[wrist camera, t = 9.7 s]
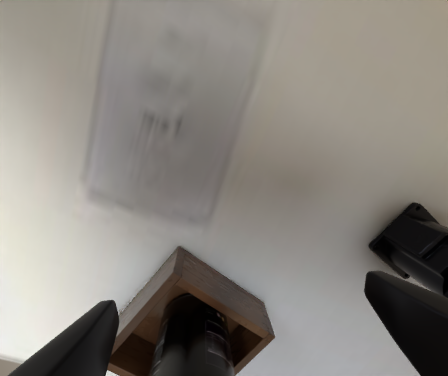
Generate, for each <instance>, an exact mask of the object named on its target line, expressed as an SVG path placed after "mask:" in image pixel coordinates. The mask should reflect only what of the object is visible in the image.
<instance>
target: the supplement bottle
mask: <svg viewBox="0 0 448 376" xmlns="http://www.w3.org/2000/svg"><path fill="white" fill-rule="evenodd" d="M149 376H235V374H234V366H233V359H232V351H231V344H230V336H229V329H228V322H227V316H226V315H224V314H223V313H221V312H220V311H218V310H216V309H215V308H213V307H211V306H210V305H208V304H207V303H205V302H203V301H202V300H200V299H199V298H197V297H195V296H194V295H192V294H188V295H185V296H182V297H180V298H178V299H176V300H174V301H173V302H172V303H171V304H170V305H169V306H168V307H167V308H166V310H165V311H164V313H163V316H162V319H161V323H160V327H159V332H158V336H157V341H156V346H155V350H154V355H153V360H152V364H151V369H150V374H149Z"/></svg>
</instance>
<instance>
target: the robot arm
mask: <svg viewBox="0 0 448 376" xmlns="http://www.w3.org/2000/svg"><path fill="white" fill-rule="evenodd" d="M415 208H416V209H415ZM375 246H376V247H375ZM369 248H370V249H371V250H372V251H373V252H374V253H375V254H376V255H377V256H379V257H380V258H381V259H382V260H383V261H384V262H385V263H386V264H388V265H389V266H390V267H391V268H392V269H393V270H394V271H395V272H397V273H398V274H399V275H400V276H401V277H403V278H404V279H407V278H409V277H410V276H411V277H413V278H414V279H415V280H417V281H418V282H420V283H421V284H422V285H424V286H425V287H427V288H428V289H429V290H431V291H429V290H427V289H424V288H422V287H419V286H417V285H414V284H412V283H409V282H407V281H405V280H402V279H400V278H397V277H395V276H392V275H390V274H387V273H385V272H382V271H369V272H368V273H367V274H366V281H365V288H364V292H365V296H366V298H367V299H368V301H369V302H370V304H371V306H372V307H373V309H374V310H375V312H376V313H377V315H378V316H379V318H380V320H381V321H382V323H383V324H384V326H385V327H386V329H387V330H388V332H389V334H390V335H391V336H392V338H393V339H394V341H395V342H396V344H397V345H398V346H399V348H400V349H401V350H402V352H403V353H404V354H405V356H406V357H407V358H408V360H409V361H410V362H411V364H412V365H413V366H414V368H415V369H416V370H417V372H418V373H419V374H420V375H421V376H448V228H447V227H444V226H442V225H440V224H439V223H438V222H437V221H436V220H435V219H434V218H433V217H432V216H431V214H430V213H429V212H428V211H427V210H426V209H425V208H424V207H423V206H422V205H421V204H418V203H412V204H411V205H410V206H409V207H408V208H407V209H406V210H405V211H404V212H403V213H402V214H401V215H400V216H399V217H398V218H396V219H395V220H394V221H393V222H392V223H391V224H390V225H389V226H388V227H387V228H386V229H385V230H384V231H383V232H382V233H381V234H380V235H379V236H378V237H377V238H376V239H375V240H374V241H373V242H371V244H370V245H369ZM118 328H119V316H118V311H117V307H116V303H115V301H114V300H107V301H101V302H99V303H98V304H97V305H96V306H94V307H93V308H92V309H90V310H89V311H88V312H87V313H85V314H84V315H83V316H82V317H80V318H79V319H78V320H77V321H75V322H74V323H73V324H72V325H70V326H69V327H68V328H67V329H65V330H64V331H63V332H62V333H60V334H59V335H58V336H57V337H55V338H54V339H53V340H51V341H50V342H49V343H48V344H46V345H45V346H44V347H43V348H41V349H40V350H39V351H38V352H36V353H35V354H34V355H33V356H31V357H30V358H29V359H28V360H26V361H25V362H24V363H23V364H21V365H20V366H19V367H18V368H16V369H15V370H14V371H13V372H11V373H10V374H9V375H7V376H105V375H106V372H107V368H108V365H109V361H110V357H111V354H112V350H113V346H114V343H115V339H116V335H117V332H118Z"/></svg>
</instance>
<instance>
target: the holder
mask: <svg viewBox="0 0 448 376" xmlns="http://www.w3.org/2000/svg"><path fill="white" fill-rule="evenodd" d="M188 294H192V295H194V296H195V297H197V298H199V299H200V300H202V301H203V302H205V303H207V304H208V305H210V306H211V307H213V308H215V309H216V310H218V311H220V312H221V313H223V314H224V315H226V316H227V322H228V329H229V336H230V344H231V351H232V359H233V366H234V374H235V375H236V374H237V373H238V372H239V371H241V370H242V369H243V368H244V367H245V366H246V365H247V364H248V363H249V362H250V361H251V360H252V359H253V358H254V357H255V356H256V355H257V354H258V353H259V352H260V351H261V350H262V349H264V348H265V347H266V346H267V345H268V344H269V343H270V342H271V341H272V340H273V339H274V338H275V335H274V332H273V329H272V326H271V323H270V320H269V317H268V314H267V311H266V308H265V305H264V303H263V302H262V301H260V300H259V299H257V298H256V297H254V296H253V295H251V294H250V293H248V292H247V291H245V290H244V289H242V288H241V287H239V286H238V285H236V284H235V283H233V282H232V281H230V280H229V279H227V278H226V277H224V276H223V275H221V274H220V273H218V272H217V271H215V270H214V269H212V268H211V267H209V266H208V265H206V264H205V263H203V262H202V261H201V260H199V259H198V258H196V257H195V256H193V255H192V254H190V253H189V252H187V251H186V250H184V249H183V248H181V247H180V246H179V247H178V248H177V249H176V250H175V251H174V253H173V254H172V255H171V256H170V257H169V258H168V260H167V261H166V262H165V263H164V264H163V265H162V267H161V268H160V269H159V270H158V271H157V272H156V274H155V275H154V276H153V277H152V278H151V279H150V281H149V282H148V283H147V284H146V285H145V286H144V288H143V289H142V290H141V291H140V292H139V293H138V295H137V296H136V297H135V298H134V299H133V300H132V302H131V303H130V304H129V305H128V306H127V307H126V309H125V310H124V311H123V312H122V313H121V314H120V316H119V328H118V332H117V335H116V339H115V343H114V346H113V350H112V354H111V357H110V361H109V365H108V368H107V370H109V371H111V372H113V373H115V374H117V375H119V376H149V374H150V369H151V364H152V360H153V355H154V350H155V346H156V341H157V336H158V332H159V327H160V323H161V319H162V316H163V313H164V311H165V310H166V308H167V307H168V306H169V305H170V304H171V303H172V302H173V301H174V300H176V299H178V298H180V297H182V296H185V295H188Z"/></svg>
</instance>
